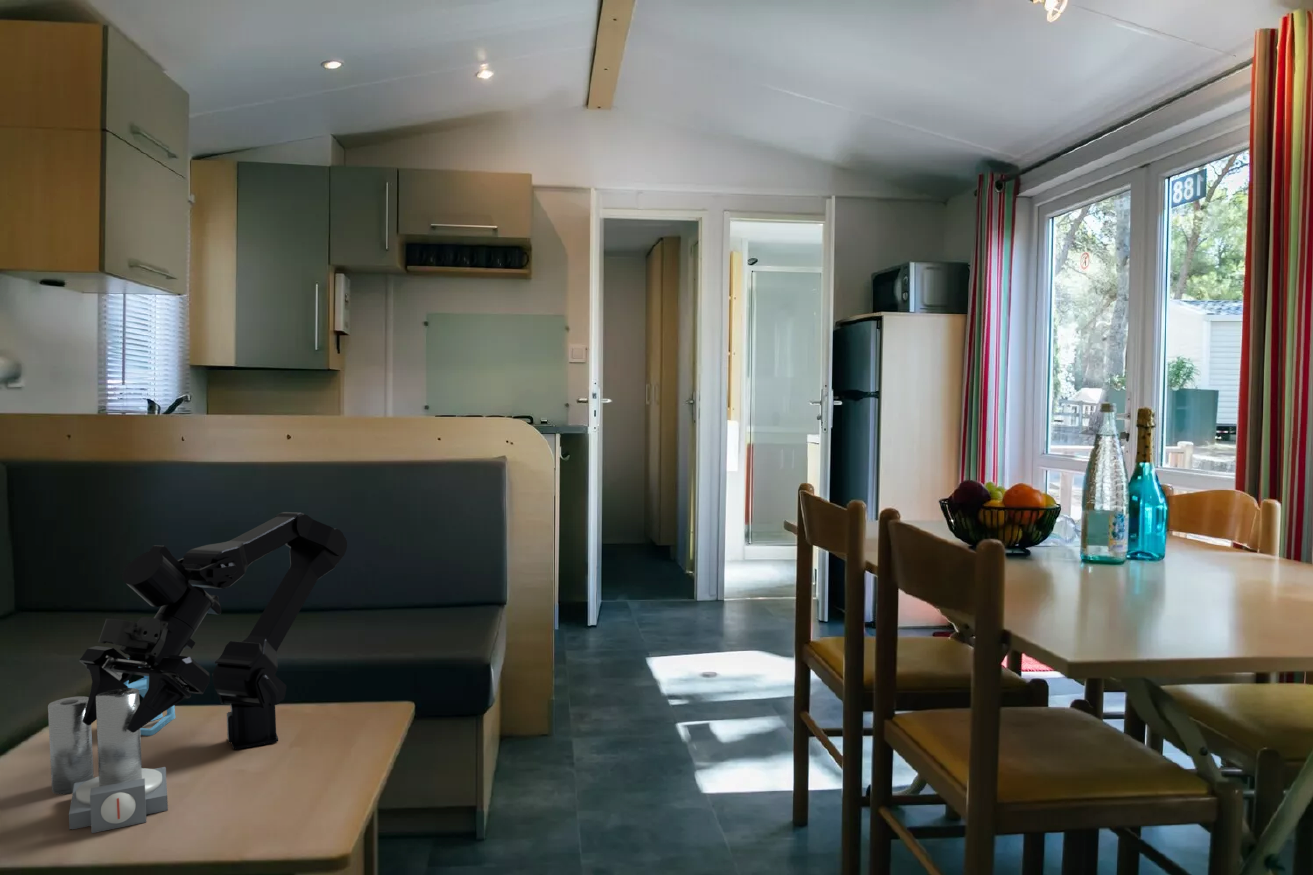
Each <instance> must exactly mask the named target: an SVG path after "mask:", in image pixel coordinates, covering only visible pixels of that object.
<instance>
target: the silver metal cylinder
mask: <svg viewBox="0 0 1313 875" xmlns="http://www.w3.org/2000/svg"><path fill="white" fill-rule="evenodd" d="M139 705H140V694H139V690H138V689H135V688H121V689H114V690H109V691H106V692H102V693H100V694H98V695H97V696H96V714H97V719H96V733H97V734H96V736H97V759H98V760H97V762H98V763H97V765H98V766H97V767H98V776H99V787H100V786H106V785H111V784H117V783H122V782H128V781H133V780H138V779H142V768H143V767H142V766H143V765H142V762H143V761H142V741H141V740H142V739H141V736H142V735H141V732H140V729H139V730H137V731H136V732H134V733H133V732H130V731H129V730H128V729H127V728H128V725H129V723H130V721H131V719H132V717H133V715H134V714H135V712H136V710H137V708H138V707H139Z"/></svg>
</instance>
